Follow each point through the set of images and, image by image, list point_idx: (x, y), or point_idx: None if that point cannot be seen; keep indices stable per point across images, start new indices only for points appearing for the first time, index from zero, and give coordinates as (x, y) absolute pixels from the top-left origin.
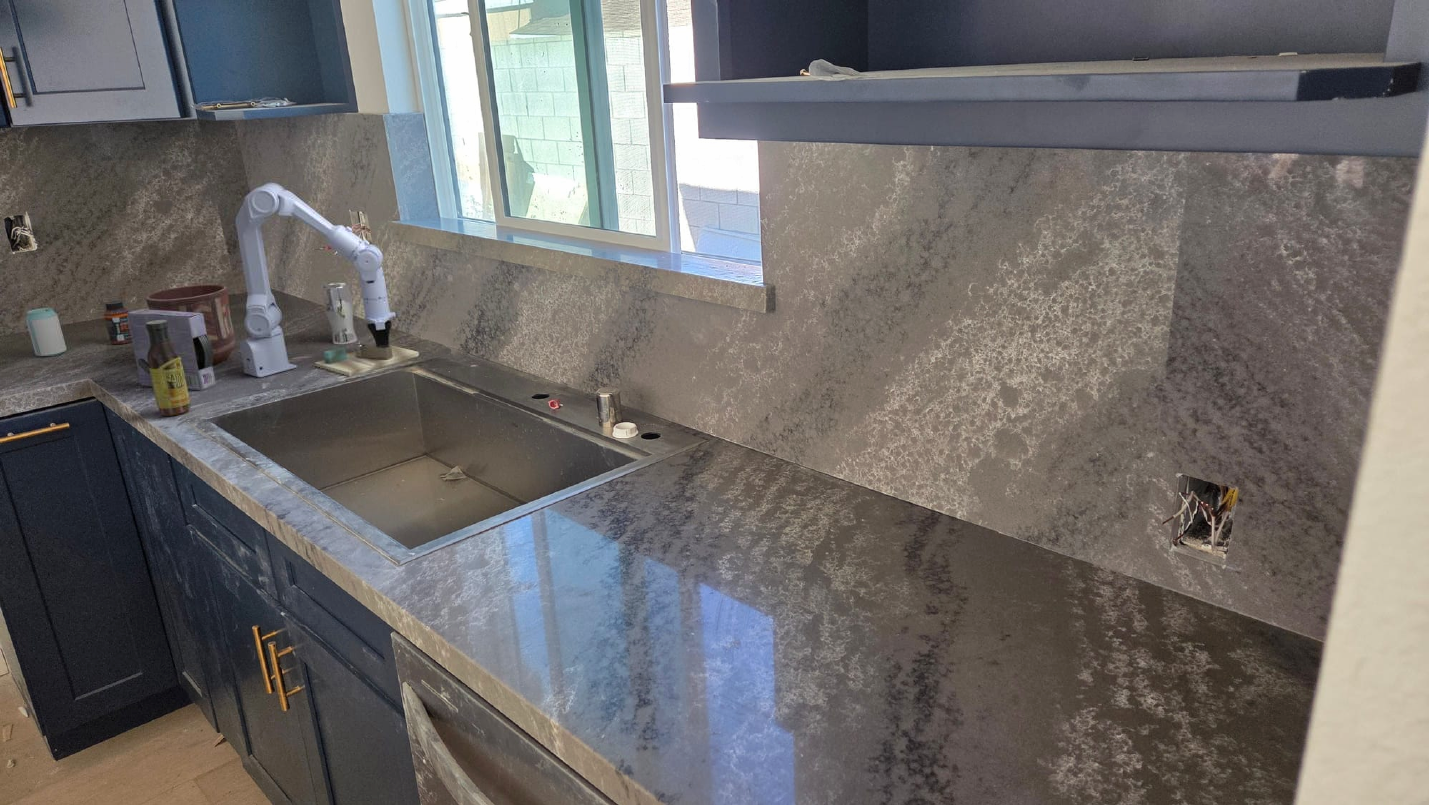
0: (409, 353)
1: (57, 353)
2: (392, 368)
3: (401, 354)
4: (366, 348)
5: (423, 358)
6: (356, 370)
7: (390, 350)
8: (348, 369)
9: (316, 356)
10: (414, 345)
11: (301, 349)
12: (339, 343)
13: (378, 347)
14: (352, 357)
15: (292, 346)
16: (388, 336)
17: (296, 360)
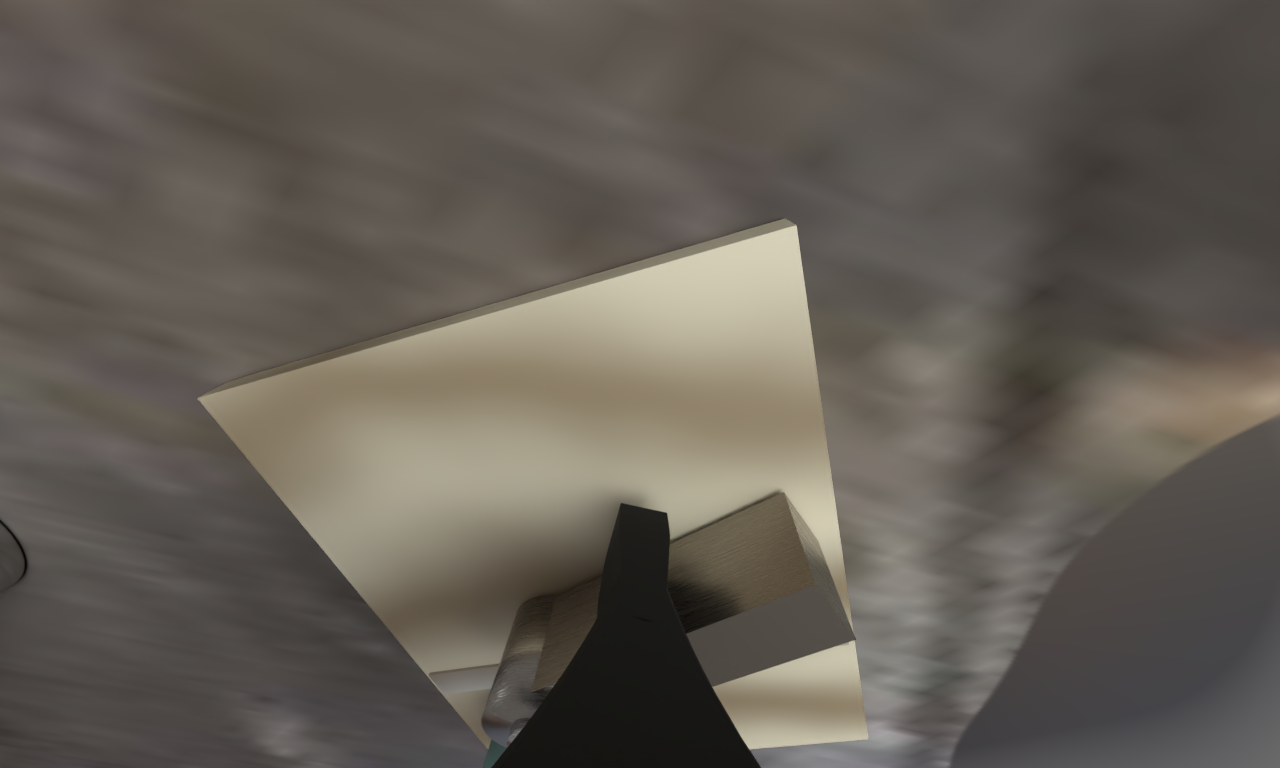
0: (771, 329)
1: None
2: (952, 522)
3: (738, 401)
4: None
5: (928, 212)
6: (863, 707)
7: (809, 557)
8: (803, 727)
9: (291, 698)
10: (274, 94)
11: (97, 702)
12: (16, 576)
13: (759, 666)
14: None
15: (15, 710)
16: (692, 649)
17: (328, 755)
